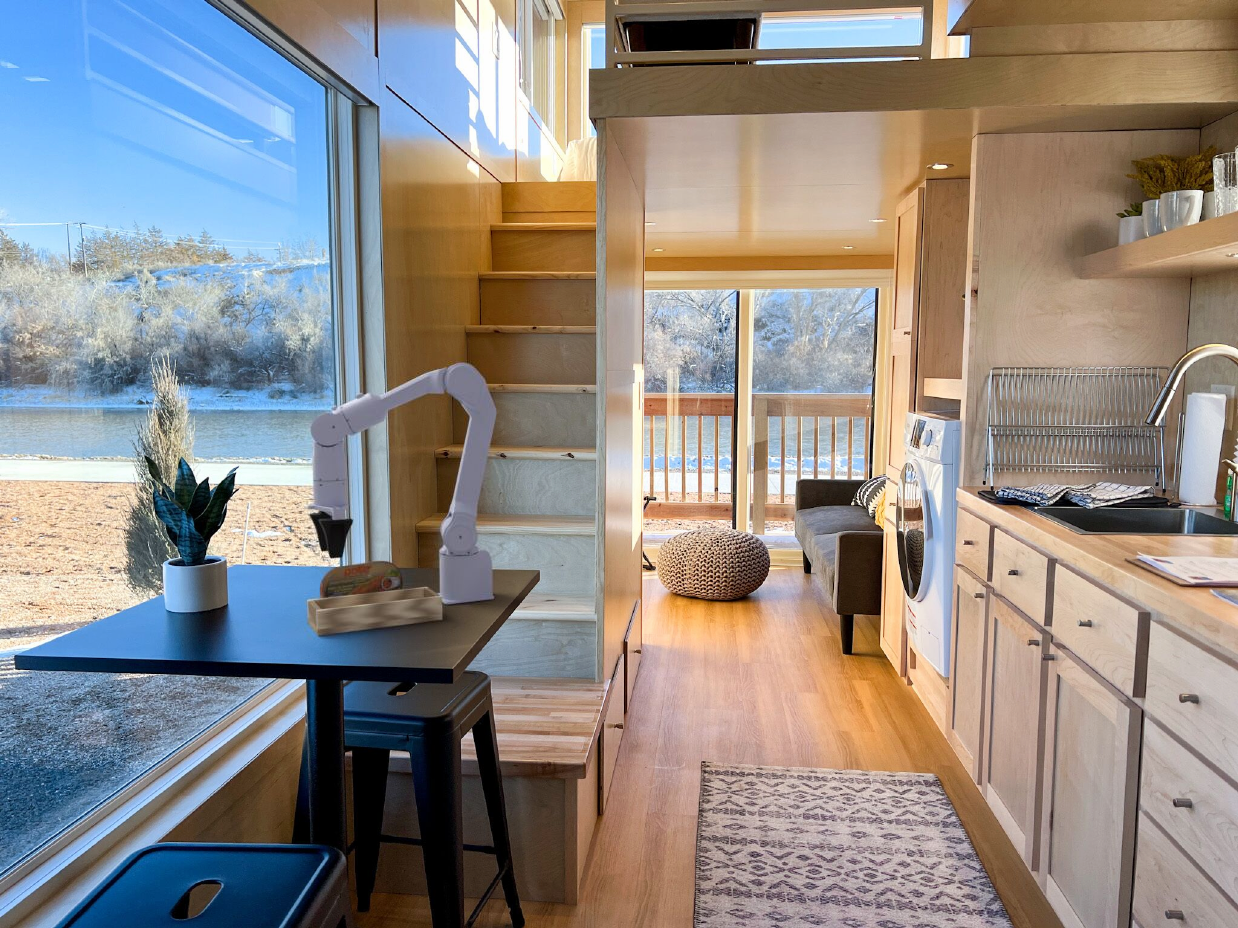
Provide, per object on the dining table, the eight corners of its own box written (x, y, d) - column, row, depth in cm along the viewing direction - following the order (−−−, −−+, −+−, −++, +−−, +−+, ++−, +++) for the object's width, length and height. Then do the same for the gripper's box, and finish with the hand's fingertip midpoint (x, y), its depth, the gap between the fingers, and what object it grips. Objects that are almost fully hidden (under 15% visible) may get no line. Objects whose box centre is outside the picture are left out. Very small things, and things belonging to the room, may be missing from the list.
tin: (325, 617, 154) (324, 569, 154) (317, 614, 157) (316, 566, 156) (404, 603, 164) (403, 558, 164) (395, 600, 167) (395, 556, 166)
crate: (427, 608, 161) (426, 586, 160) (442, 619, 153) (442, 596, 153) (307, 623, 151) (307, 599, 150) (317, 635, 143) (317, 611, 143)
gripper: (299, 477, 165) (301, 549, 166) (314, 484, 153) (316, 563, 154) (338, 475, 169) (340, 546, 170) (356, 482, 156) (358, 559, 157)
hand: (331, 554), depth 162 cm, fingers open, 7 cm apart
